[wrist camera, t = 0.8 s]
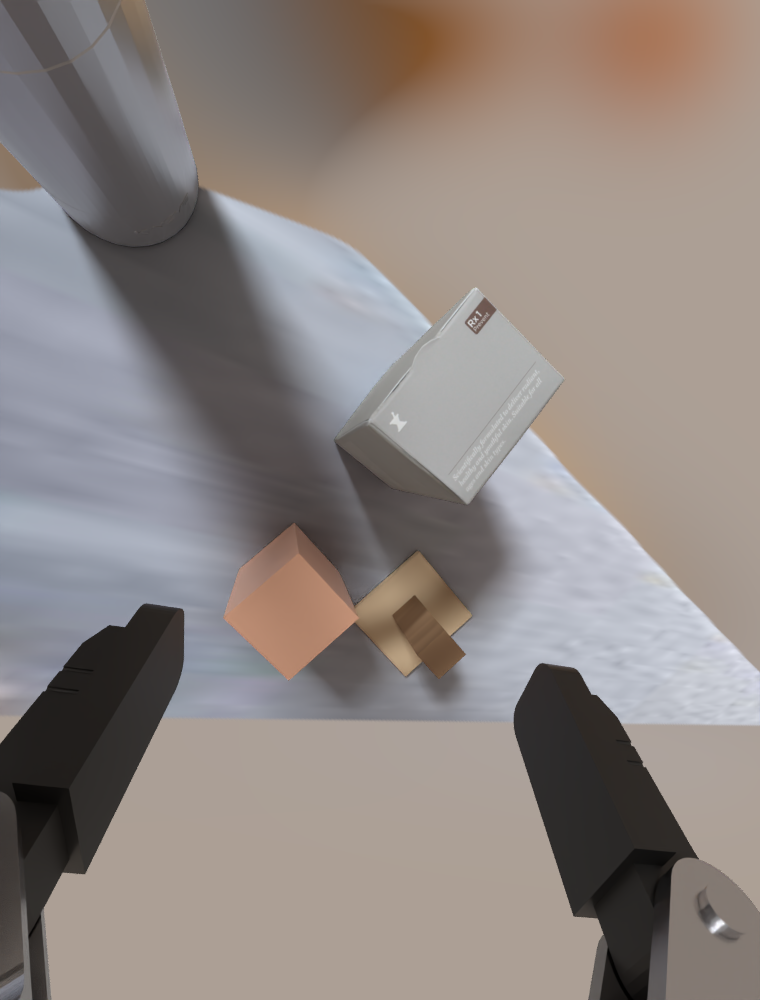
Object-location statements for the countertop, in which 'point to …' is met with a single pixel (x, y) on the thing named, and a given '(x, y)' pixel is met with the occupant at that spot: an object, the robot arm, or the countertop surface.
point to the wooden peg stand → (414, 618)
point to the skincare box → (452, 404)
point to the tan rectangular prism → (290, 602)
